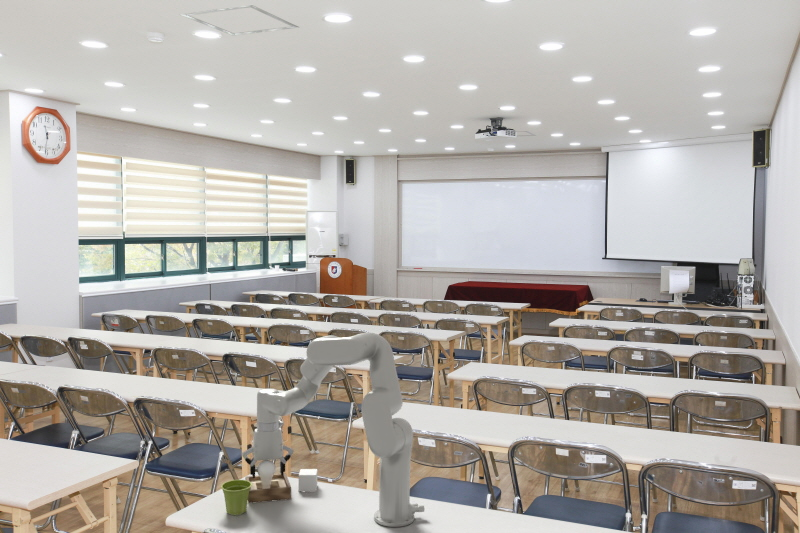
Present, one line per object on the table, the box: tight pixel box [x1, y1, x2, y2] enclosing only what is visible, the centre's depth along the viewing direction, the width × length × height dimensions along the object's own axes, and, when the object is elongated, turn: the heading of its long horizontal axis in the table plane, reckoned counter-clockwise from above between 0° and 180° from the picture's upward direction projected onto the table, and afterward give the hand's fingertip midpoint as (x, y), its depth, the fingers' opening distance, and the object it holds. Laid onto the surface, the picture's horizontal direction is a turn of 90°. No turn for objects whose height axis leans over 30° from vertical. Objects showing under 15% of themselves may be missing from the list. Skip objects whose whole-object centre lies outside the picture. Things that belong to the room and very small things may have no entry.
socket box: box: [244, 472, 292, 504], centre depth 231 cm, size 14×14×4 cm
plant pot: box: [220, 479, 252, 516], centre depth 216 cm, size 9×9×9 cm
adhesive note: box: [298, 468, 318, 493], centre depth 236 cm, size 6×6×6 cm
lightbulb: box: [256, 460, 276, 489], centre depth 231 cm, size 6×6×11 cm
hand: (267, 475), depth 231 cm, fingers open, 9 cm apart
